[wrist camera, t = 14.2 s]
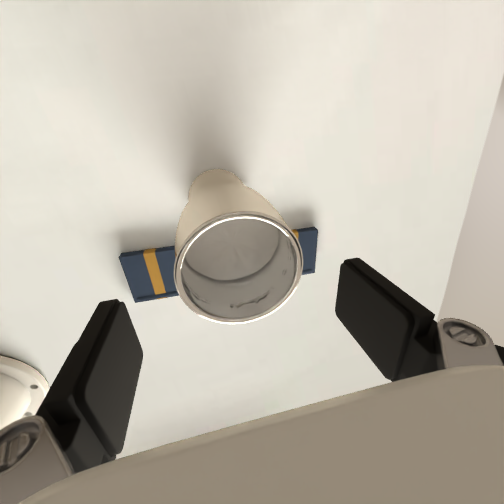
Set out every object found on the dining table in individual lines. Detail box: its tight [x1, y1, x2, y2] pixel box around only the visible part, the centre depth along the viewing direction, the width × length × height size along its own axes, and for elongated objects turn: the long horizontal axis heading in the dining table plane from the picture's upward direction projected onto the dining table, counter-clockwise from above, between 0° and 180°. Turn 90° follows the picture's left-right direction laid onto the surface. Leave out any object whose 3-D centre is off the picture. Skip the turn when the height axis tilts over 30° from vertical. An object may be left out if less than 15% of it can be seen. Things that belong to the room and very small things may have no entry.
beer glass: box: [174, 169, 303, 324], centre depth 19 cm, size 7×7×15 cm
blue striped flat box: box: [119, 227, 318, 303], centre depth 28 cm, size 22×6×1 cm, turn 94°
